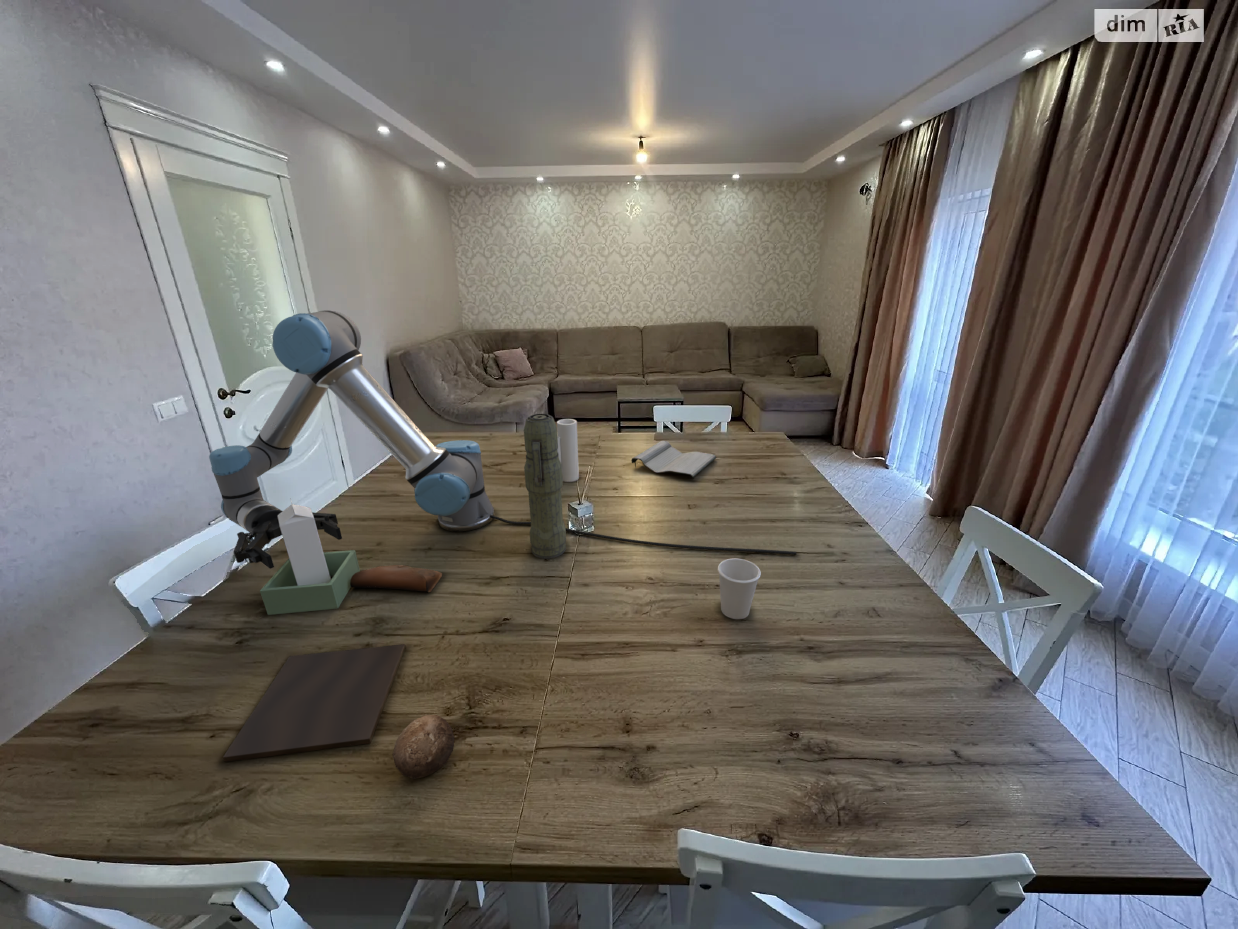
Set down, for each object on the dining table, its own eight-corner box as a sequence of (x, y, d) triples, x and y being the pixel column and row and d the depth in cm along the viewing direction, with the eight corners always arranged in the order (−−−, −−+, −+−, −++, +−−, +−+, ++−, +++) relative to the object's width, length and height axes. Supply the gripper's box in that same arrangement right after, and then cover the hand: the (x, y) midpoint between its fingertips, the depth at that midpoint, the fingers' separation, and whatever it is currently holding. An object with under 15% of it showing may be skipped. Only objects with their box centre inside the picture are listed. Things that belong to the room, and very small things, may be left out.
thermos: (567, 536, 128) (560, 409, 115) (564, 561, 117) (557, 423, 104) (534, 537, 128) (523, 409, 115) (528, 562, 117) (515, 424, 104)
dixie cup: (732, 628, 95) (736, 586, 91) (706, 604, 102) (709, 564, 98) (764, 615, 98) (769, 574, 95) (737, 593, 105) (741, 554, 102)
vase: (579, 473, 168) (577, 418, 161) (578, 482, 162) (576, 424, 154) (546, 474, 168) (542, 419, 160) (544, 483, 161) (540, 425, 154)
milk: (303, 604, 103) (274, 512, 95) (300, 590, 107) (272, 501, 99) (335, 593, 106) (310, 503, 98) (331, 580, 111) (306, 493, 102)
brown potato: (406, 713, 73) (408, 706, 69) (458, 724, 75) (463, 717, 70) (384, 775, 68) (384, 771, 63) (440, 785, 70) (444, 782, 65)
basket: (360, 571, 114) (355, 549, 112) (337, 608, 101) (331, 584, 99) (298, 576, 112) (291, 554, 110) (267, 615, 100) (259, 591, 97)
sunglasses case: (444, 571, 113) (434, 558, 108) (435, 600, 109) (424, 588, 103) (372, 567, 115) (358, 554, 109) (360, 595, 110) (345, 583, 105)
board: (405, 648, 91) (404, 643, 90) (370, 743, 72) (369, 738, 72) (291, 660, 88) (289, 655, 88) (224, 762, 70) (222, 757, 69)
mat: (693, 482, 161) (693, 469, 159) (631, 469, 172) (631, 457, 170) (716, 460, 179) (717, 448, 178) (659, 450, 190) (659, 438, 189)
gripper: (322, 514, 124) (367, 537, 113) (203, 558, 105) (242, 592, 94) (315, 487, 121) (360, 509, 110) (192, 527, 102) (231, 559, 91)
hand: (306, 547), depth 102 cm, fingers open, 13 cm apart
